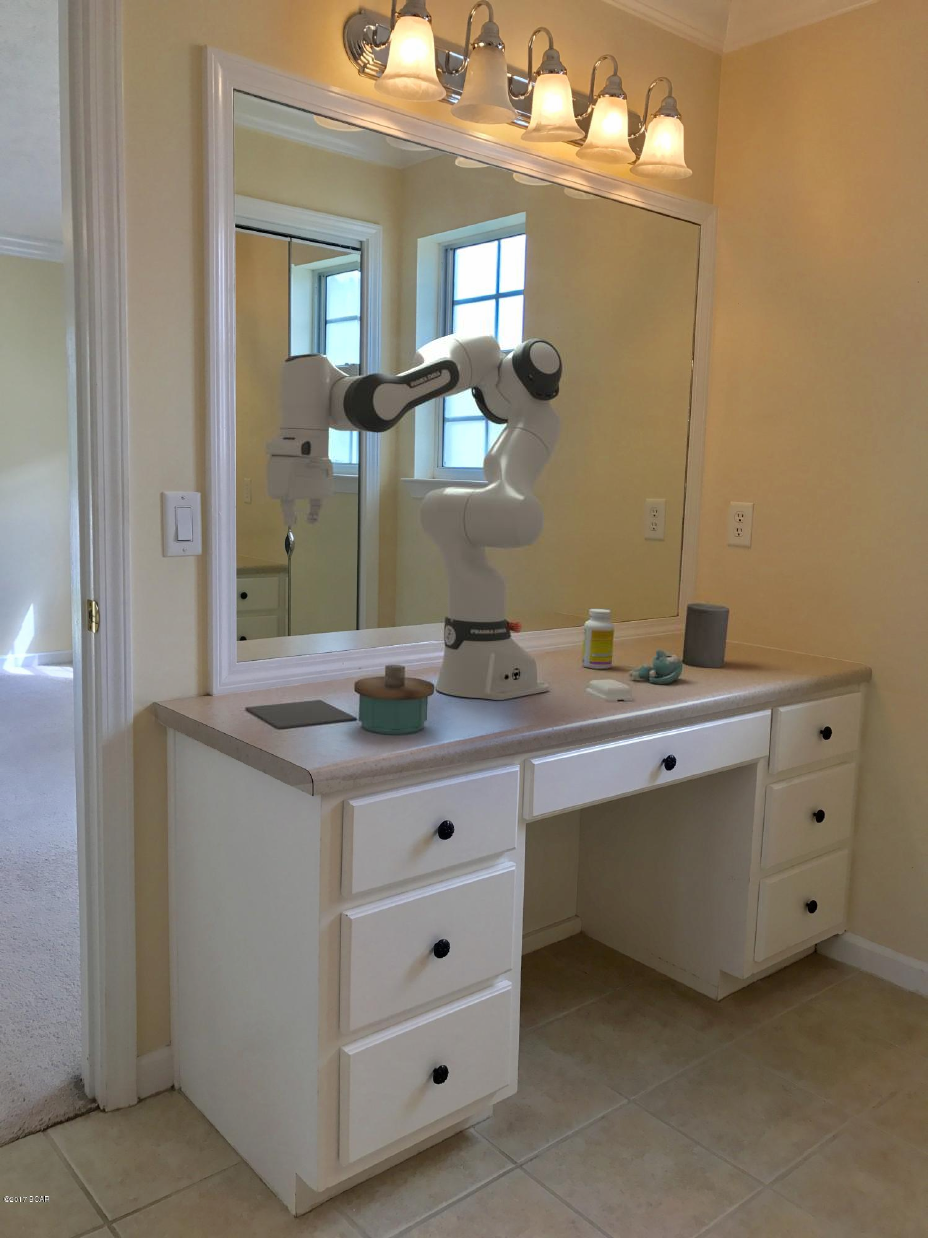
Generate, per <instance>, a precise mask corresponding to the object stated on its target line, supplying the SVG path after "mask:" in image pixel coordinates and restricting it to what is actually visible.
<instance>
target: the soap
mask: <svg viewBox="0 0 928 1238" xmlns="http://www.w3.org/2000/svg"><path fill="white" fill-rule="evenodd" d="M585 691H586V693H587V694H589V695H590V696H593V697H594V698H596V699H599V700H601V701H604V702H618V700H620V701H621V700H623V701H624V702H629V701H634V700H635V698H634V696H633V690H632V689H631V687H629V686H627V685H626V684H624V683H622V682H620V681H617V680H614V679H594V680H591V681H589V683H588V687H587V688H586V690H585Z"/></svg>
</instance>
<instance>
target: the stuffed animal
mask: <svg viewBox="0 0 928 1238" xmlns="http://www.w3.org/2000/svg"><path fill="white" fill-rule="evenodd" d="M655 652H656V653H655V654H656V655H654V657H653V660H652V665H650V664H648V663H644V664H641V666H638V668H637V669H634V670H630V671H628V676H629V678H633V680H636V679H640V678H642V679H644V680H645V679H646V680H647V679H649V680H648V681H649V683H652V684H657V685H669V684H671V683H672V682H673V681H675V680H677V679H679V678H680V676H681V675H682V672H683V663H682V660H681V659H680V658H679V657H678V655H676V654H673V653H671V652H669V653H666V652H664V651H663V650H662V649H656V650H655ZM655 677H657V678H655Z"/></svg>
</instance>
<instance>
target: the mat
mask: <svg viewBox="0 0 928 1238" xmlns="http://www.w3.org/2000/svg"><path fill="white" fill-rule="evenodd" d="M245 711H247V712H249V713H250V714H251V715H254V716H255V717H257V718H259V719H260V720H262V721H264V722H265V723H267V724H269V725H270V726H272V727H274V728H276V729H277V730H282V729H283V730H284V729H291V728H300V727H301V728H302V727H309V726H319V725H325V724H326V725H327V724H336V723H343V722H353V721H357V720H358V717H356V716H354V715H352V714H350V713H348V712H346V711H343V710H342V709H340V708H337V707H336V706H334V705H331V704H330V703H327V702H325V701H323V700H322V699H315V700H305V701H295V702H286V703H285V702H284V703H275V704H266V705H264V704H263V705H257V706H256V705H254V706H246V707H245Z"/></svg>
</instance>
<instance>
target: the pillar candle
mask: <svg viewBox="0 0 928 1238" xmlns="http://www.w3.org/2000/svg"><path fill="white" fill-rule="evenodd" d="M709 602H710V601H709V600H707V603H703V602H702V603H701V602H700V603H699V602H697V603H694V602H693V603H688V604H687V605H686V606H687V607H686V616H685V626H684V628H685V629H684V639H683V650H682V660H681V662H682V665H687V666H691V667H696V668H705V669H718V668H722V667H723V668H724V666H725V657H726V648H727V635H728V626H729V616H730V615H729V614H730V608H729V607H727V606H724V605H719V604H712V603H711V604H710V603H709Z"/></svg>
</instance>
